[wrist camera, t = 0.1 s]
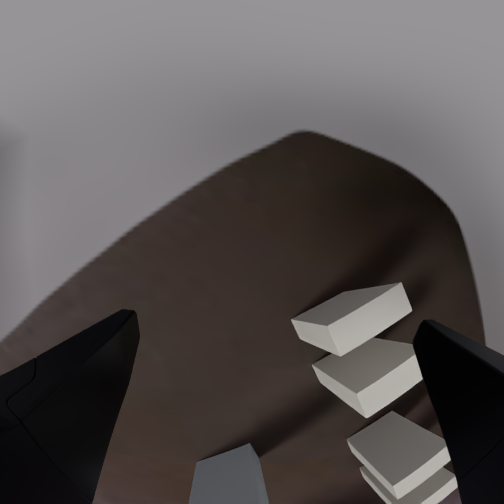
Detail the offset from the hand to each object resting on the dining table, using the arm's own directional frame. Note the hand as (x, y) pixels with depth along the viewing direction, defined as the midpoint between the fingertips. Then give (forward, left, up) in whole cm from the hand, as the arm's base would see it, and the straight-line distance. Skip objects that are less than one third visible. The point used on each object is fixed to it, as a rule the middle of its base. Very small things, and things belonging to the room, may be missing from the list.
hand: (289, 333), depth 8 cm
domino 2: (-2, -5, -15) cm, 16 cm away
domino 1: (-11, +7, -15) cm, 20 cm away
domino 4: (-15, -5, -15) cm, 22 cm away
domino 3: (-7, -5, -15) cm, 17 cm away
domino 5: (-19, -5, -15) cm, 25 cm away
